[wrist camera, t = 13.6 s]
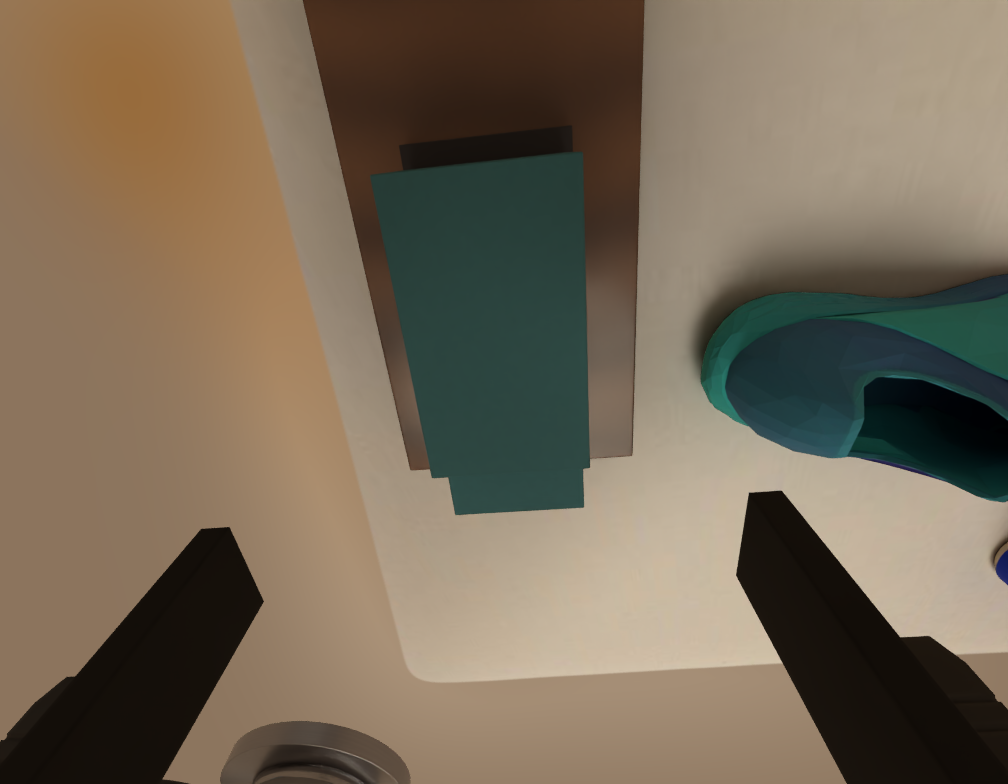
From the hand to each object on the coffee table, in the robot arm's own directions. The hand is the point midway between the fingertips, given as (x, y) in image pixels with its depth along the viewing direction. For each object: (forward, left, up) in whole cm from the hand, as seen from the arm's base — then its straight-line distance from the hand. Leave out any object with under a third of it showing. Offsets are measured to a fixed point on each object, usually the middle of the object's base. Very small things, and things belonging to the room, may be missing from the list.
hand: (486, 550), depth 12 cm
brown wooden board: (-3, +5, -18) cm, 19 cm away
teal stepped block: (0, +1, -15) cm, 15 cm away
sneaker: (+23, +9, -19) cm, 31 cm away
